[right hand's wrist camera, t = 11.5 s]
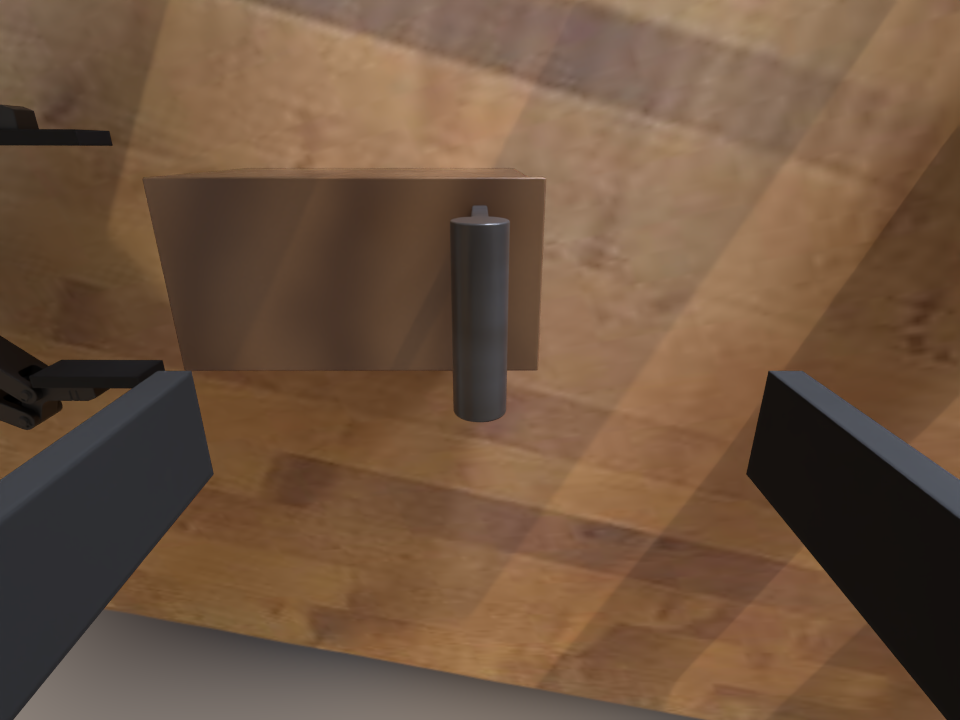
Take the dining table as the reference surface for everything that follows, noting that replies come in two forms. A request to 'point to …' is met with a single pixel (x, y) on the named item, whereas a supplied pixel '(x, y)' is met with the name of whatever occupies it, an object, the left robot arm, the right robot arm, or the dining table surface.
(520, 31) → the dining table surface
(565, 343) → the dining table surface
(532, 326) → the lid
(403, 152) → the dining table surface
